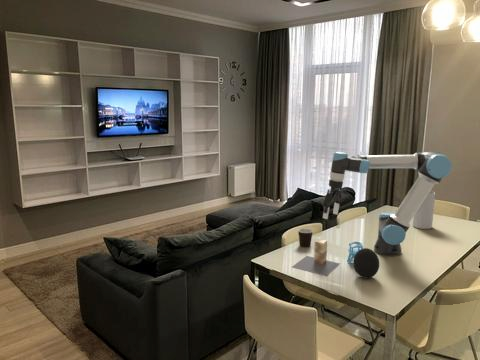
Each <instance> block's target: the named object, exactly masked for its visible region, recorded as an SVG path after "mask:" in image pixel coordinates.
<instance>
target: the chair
mask: <svg viewBox="0 0 480 360" xmlns="http://www.w3.org/2000/svg"><path fill="white" fill-rule="evenodd" d="M354 244H355V245H354ZM352 245H353V246H352ZM348 246H349V248H348V249H347V250H348V256H347V260H346V262H347V264H351V265H353V260H354V256H355V254H356V253H357V252H358V251H359V250H361V249H363V248H364V245H363V244H362V242H360V241H353V242H351V243H348Z"/></svg>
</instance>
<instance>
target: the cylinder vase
mask: <svg viewBox="0 0 480 360" xmlns="http://www.w3.org/2000/svg"><path fill="white" fill-rule="evenodd" d="M435 199H436V192H435V191H433V190H431V191H430V192H429V194H428V195H427V196H426V198H425V199H424V201H423V202H422V204H421V205H420V207H419V208H418V210H417V211H416V213H415V214H414V216H413V217H412V226H413V227H414V228H416V229H420V230H430V229H432V228H433V224H434V223H433V220H434V212H435V211H434V210H435Z"/></svg>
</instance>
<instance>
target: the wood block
mask: <svg viewBox="0 0 480 360" xmlns="http://www.w3.org/2000/svg"><path fill="white" fill-rule="evenodd" d="M327 247H328V240H325V239H322V238H321V239H320V238H318V239H316V240H315V241H314V253H313V254H314V255H313V256H314V263H319V264H324V263H325V262H326V260H327V257H328V252H327V251H328V248H327Z"/></svg>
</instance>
